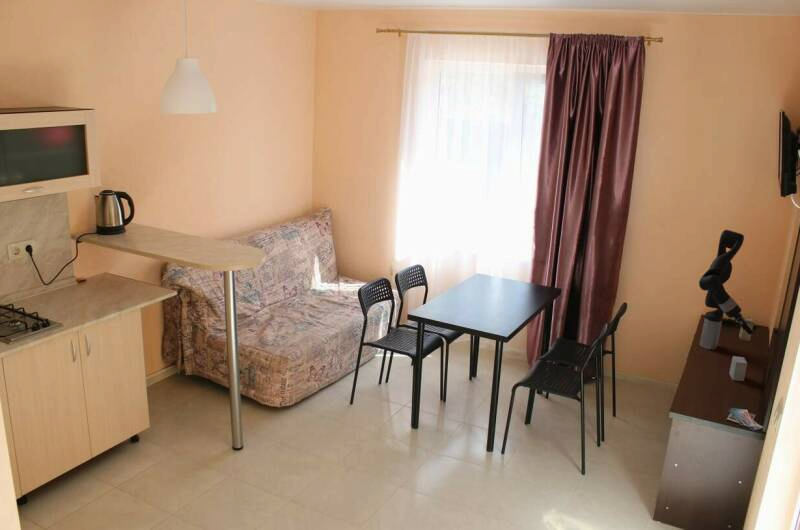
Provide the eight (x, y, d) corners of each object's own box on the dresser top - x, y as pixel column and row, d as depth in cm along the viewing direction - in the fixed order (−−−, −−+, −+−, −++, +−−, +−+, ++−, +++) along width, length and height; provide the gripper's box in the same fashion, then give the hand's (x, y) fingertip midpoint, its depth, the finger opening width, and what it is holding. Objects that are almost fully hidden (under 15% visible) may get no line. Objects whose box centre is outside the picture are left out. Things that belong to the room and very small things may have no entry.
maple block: (739, 336, 373) (742, 318, 370) (748, 337, 372) (752, 319, 369) (740, 339, 369) (744, 321, 366) (749, 340, 368) (753, 322, 365)
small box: (743, 381, 373) (747, 363, 370) (732, 380, 374) (736, 362, 371) (740, 375, 381) (743, 357, 378) (729, 373, 382) (732, 355, 379)
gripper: (738, 307, 360) (759, 333, 361) (733, 298, 373) (754, 322, 374) (725, 315, 363) (746, 341, 364) (720, 306, 376) (741, 330, 377)
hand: (750, 331), depth 369 cm, fingers closed on maple block, 4 cm apart
